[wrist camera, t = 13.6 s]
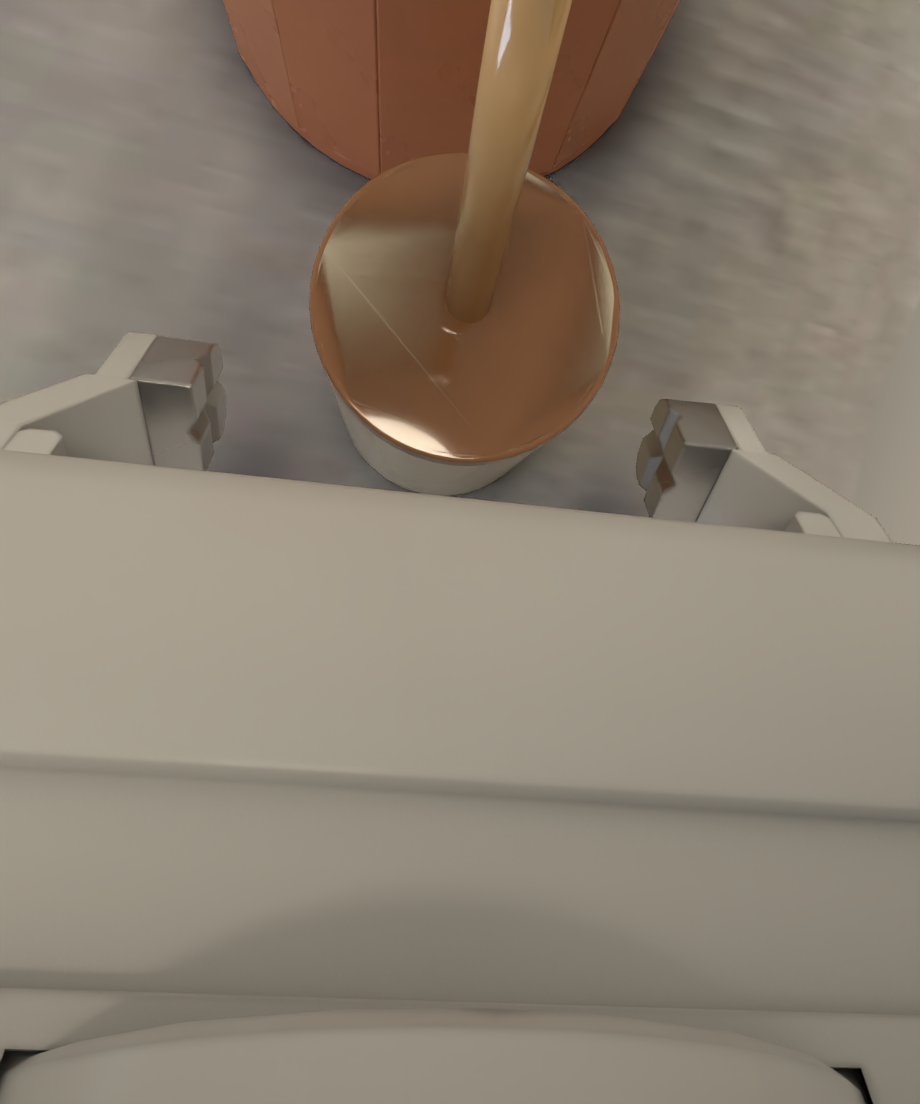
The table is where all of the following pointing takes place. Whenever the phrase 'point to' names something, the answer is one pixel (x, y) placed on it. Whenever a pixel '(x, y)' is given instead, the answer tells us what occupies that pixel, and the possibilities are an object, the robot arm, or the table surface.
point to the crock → (468, 288)
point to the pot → (432, 73)
